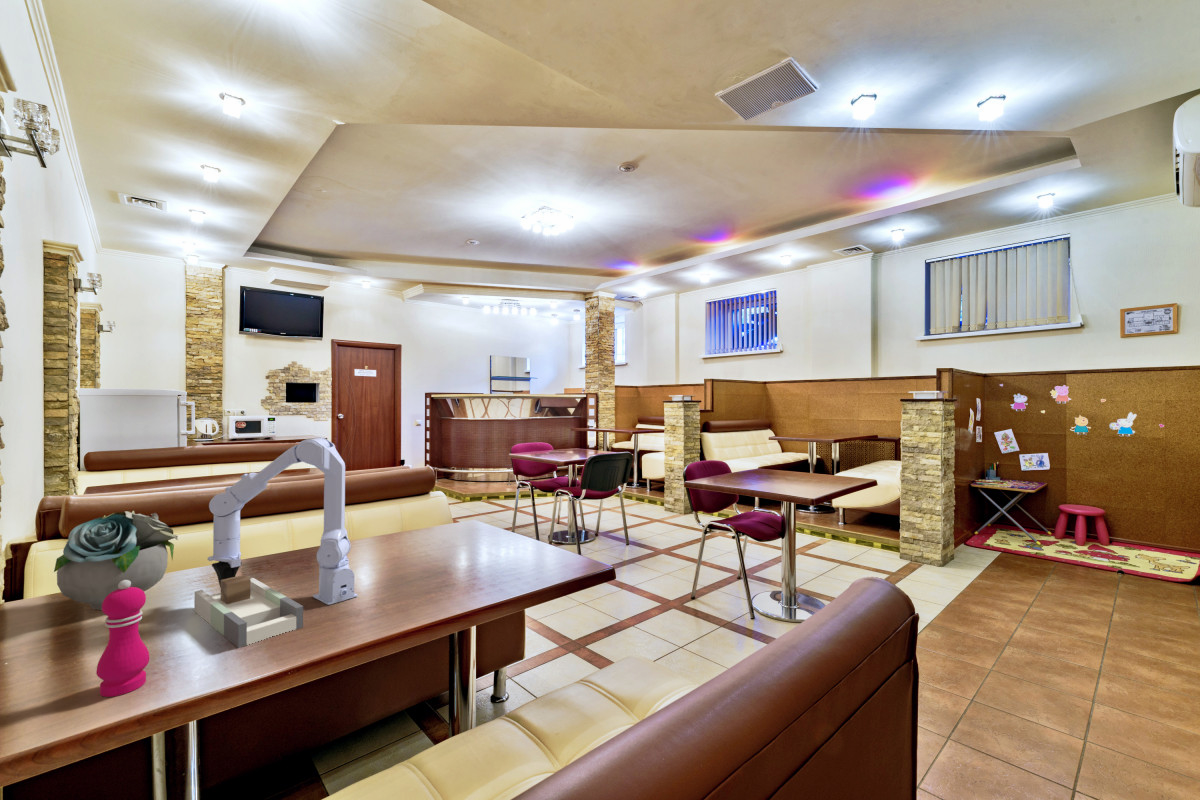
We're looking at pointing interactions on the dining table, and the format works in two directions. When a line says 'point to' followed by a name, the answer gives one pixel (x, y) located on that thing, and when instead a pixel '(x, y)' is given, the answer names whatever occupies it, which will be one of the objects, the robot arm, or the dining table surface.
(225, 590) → the walnut block
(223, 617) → the tray
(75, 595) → the flower arrangement
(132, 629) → the pepper mill
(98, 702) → the dining table surface
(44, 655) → the dining table surface
